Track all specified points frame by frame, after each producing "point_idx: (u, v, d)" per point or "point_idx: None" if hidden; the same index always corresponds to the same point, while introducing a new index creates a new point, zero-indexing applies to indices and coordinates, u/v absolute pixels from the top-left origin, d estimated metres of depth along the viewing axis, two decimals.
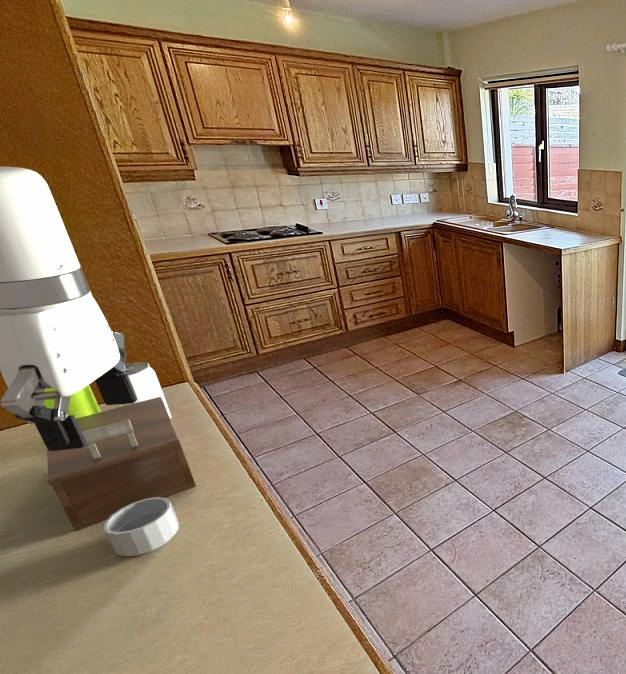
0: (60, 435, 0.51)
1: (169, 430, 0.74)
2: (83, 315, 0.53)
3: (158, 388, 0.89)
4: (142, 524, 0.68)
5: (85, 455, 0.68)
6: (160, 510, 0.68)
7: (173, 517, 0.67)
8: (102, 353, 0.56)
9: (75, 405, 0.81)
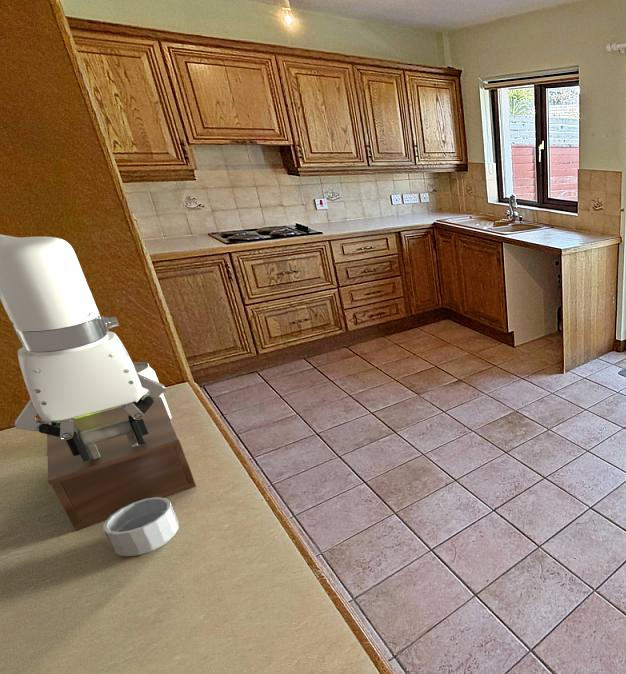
0: (70, 448, 0.65)
1: (169, 430, 0.74)
2: (83, 362, 0.62)
3: None
4: (142, 524, 0.68)
5: None
6: (160, 510, 0.68)
7: (173, 517, 0.67)
8: (105, 393, 0.65)
9: None
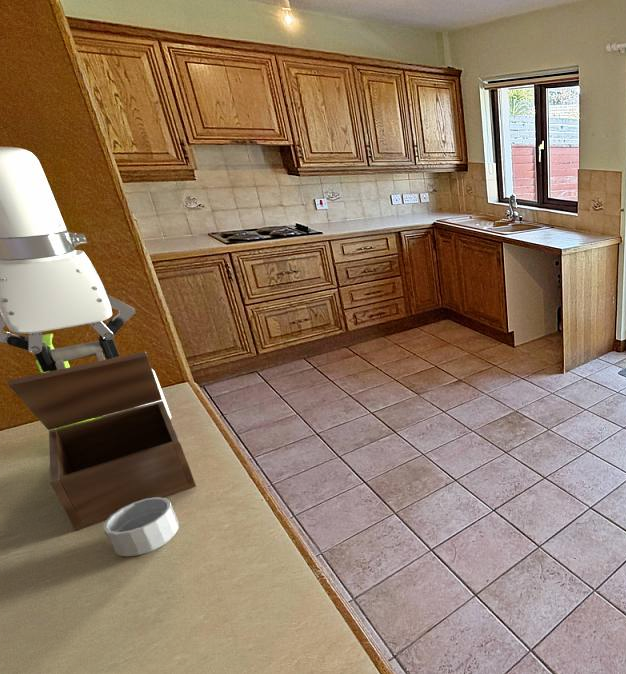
0: (39, 363, 0.66)
1: None
2: (50, 274, 0.63)
3: None
4: (142, 524, 0.68)
5: None
6: (160, 510, 0.68)
7: (173, 517, 0.67)
8: (73, 308, 0.66)
9: None
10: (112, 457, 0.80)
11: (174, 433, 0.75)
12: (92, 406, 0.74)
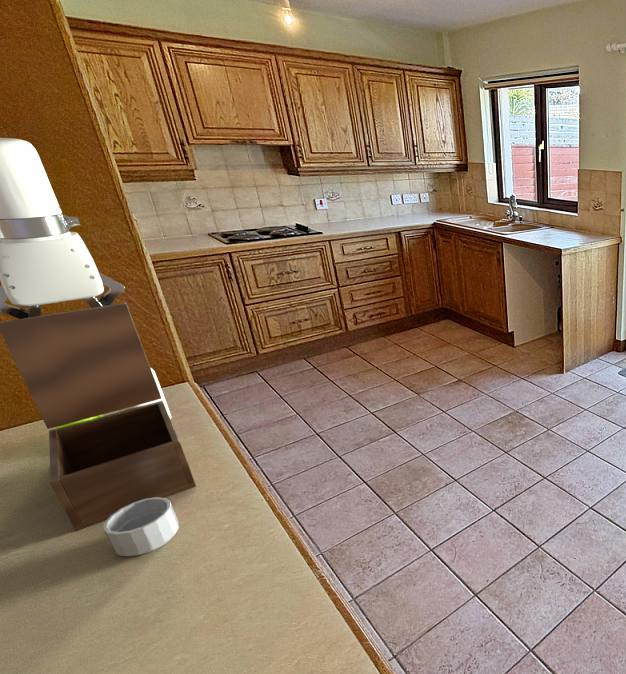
0: None
1: None
2: (47, 252, 0.70)
3: (158, 388, 0.89)
4: (142, 524, 0.68)
5: None
6: (160, 510, 0.68)
7: (173, 517, 0.67)
8: (68, 284, 0.73)
9: None
10: (112, 457, 0.80)
11: (174, 433, 0.75)
12: (87, 390, 0.76)
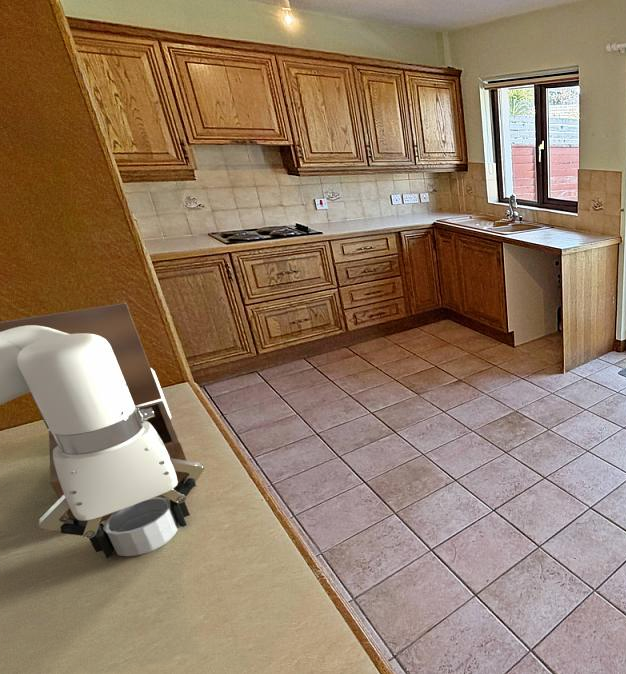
0: None
1: None
2: (119, 458, 0.60)
3: (158, 388, 0.89)
4: (142, 524, 0.68)
5: None
6: (160, 510, 0.68)
7: (173, 517, 0.67)
8: (141, 486, 0.62)
9: None
10: None
11: (174, 433, 0.75)
12: None
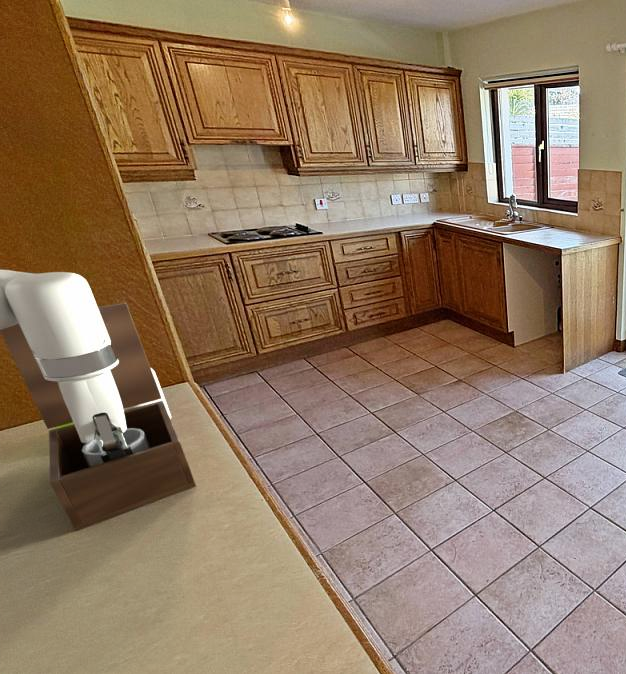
0: None
1: None
2: None
3: (158, 388, 0.89)
4: None
5: None
6: (99, 450, 0.73)
7: None
8: None
9: None
10: None
11: (174, 433, 0.75)
12: None
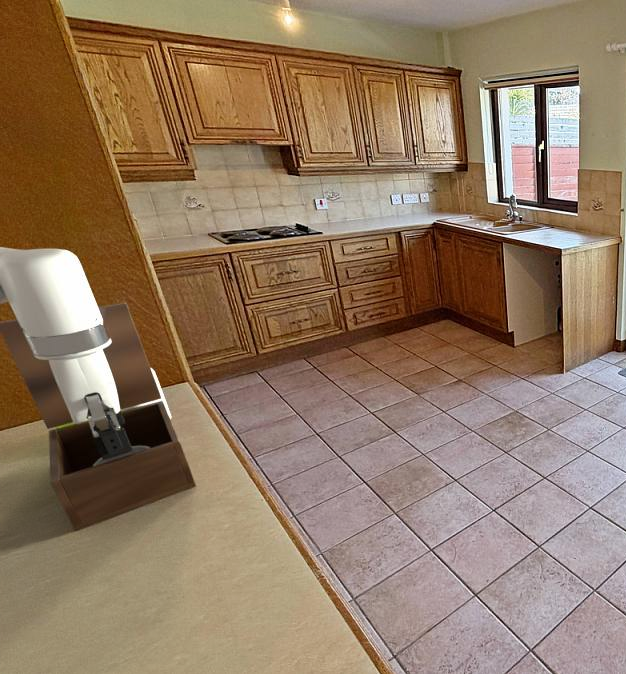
0: (118, 443, 0.69)
1: None
2: None
3: (158, 388, 0.89)
4: None
5: None
6: None
7: None
8: None
9: None
10: None
11: (174, 433, 0.75)
12: None
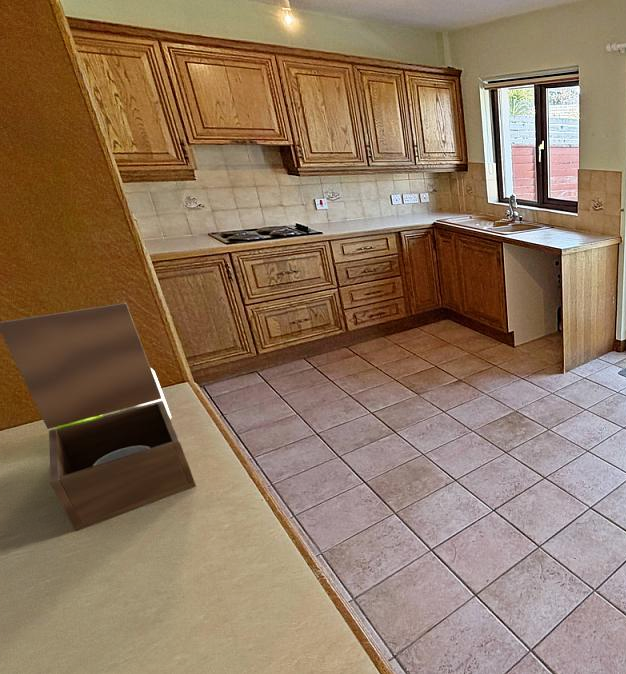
0: None
1: None
2: None
3: (158, 388, 0.89)
4: None
5: None
6: None
7: None
8: None
9: None
10: None
11: (174, 433, 0.75)
12: (88, 390, 0.76)
